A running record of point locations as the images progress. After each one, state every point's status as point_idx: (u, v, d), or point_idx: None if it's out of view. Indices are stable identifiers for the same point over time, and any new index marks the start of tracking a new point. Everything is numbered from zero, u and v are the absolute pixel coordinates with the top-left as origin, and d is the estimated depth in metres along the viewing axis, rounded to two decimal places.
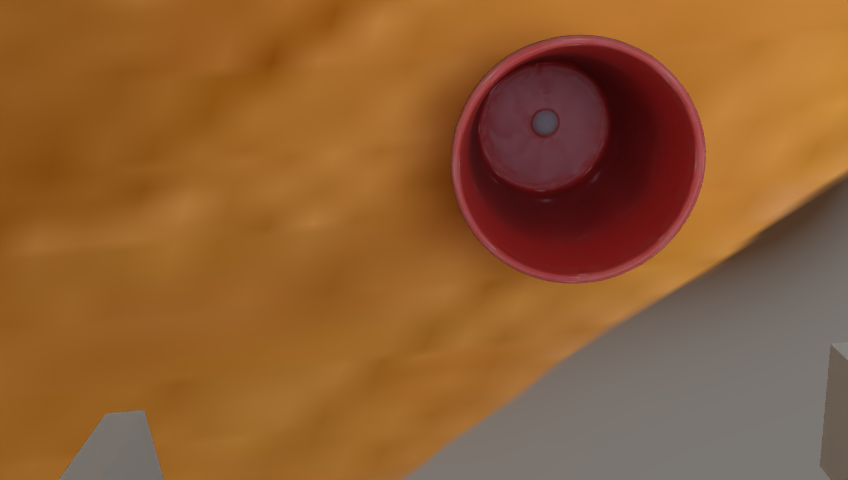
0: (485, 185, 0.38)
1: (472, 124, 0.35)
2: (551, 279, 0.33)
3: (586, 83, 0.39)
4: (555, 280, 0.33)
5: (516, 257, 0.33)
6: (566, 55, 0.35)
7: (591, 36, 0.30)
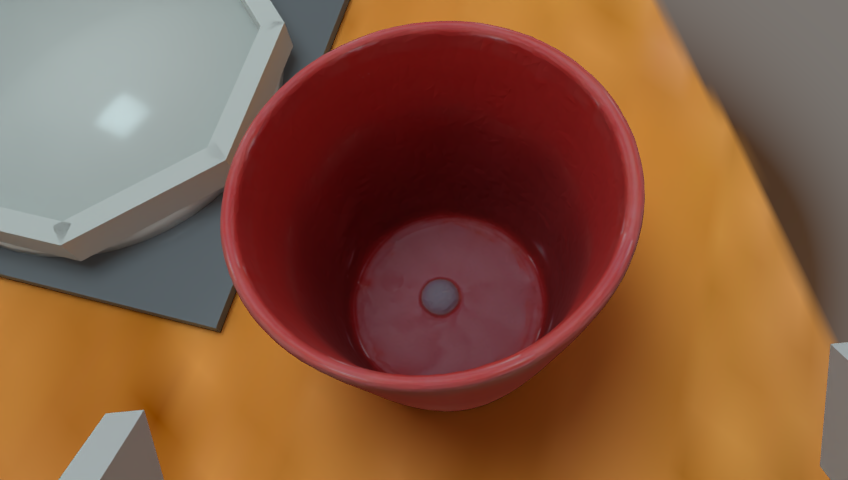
0: None
1: (344, 357, 0.21)
2: (613, 279, 0.18)
3: (411, 232, 0.28)
4: (617, 273, 0.18)
5: (553, 329, 0.18)
6: (331, 216, 0.25)
7: (253, 121, 0.20)
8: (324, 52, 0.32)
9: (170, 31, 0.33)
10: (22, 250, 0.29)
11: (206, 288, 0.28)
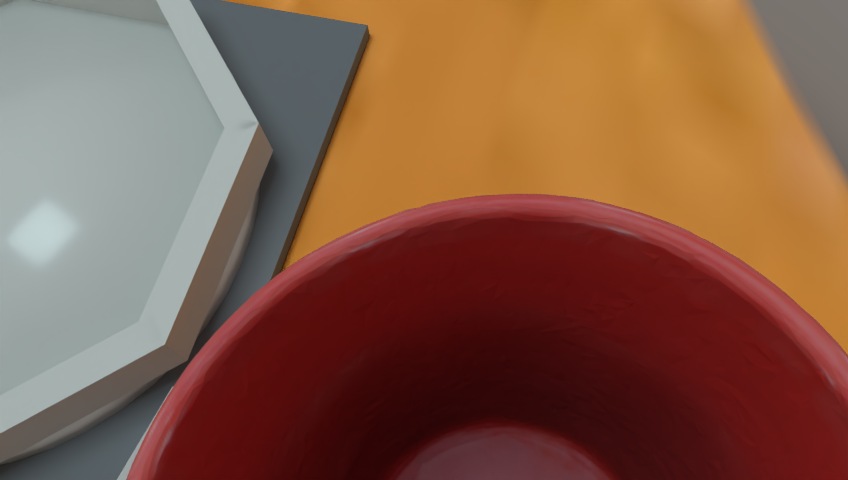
0: None
1: None
2: None
3: (445, 449, 0.19)
4: None
5: None
6: (321, 470, 0.15)
7: (170, 391, 0.11)
8: (318, 156, 0.23)
9: (101, 125, 0.23)
10: None
11: None
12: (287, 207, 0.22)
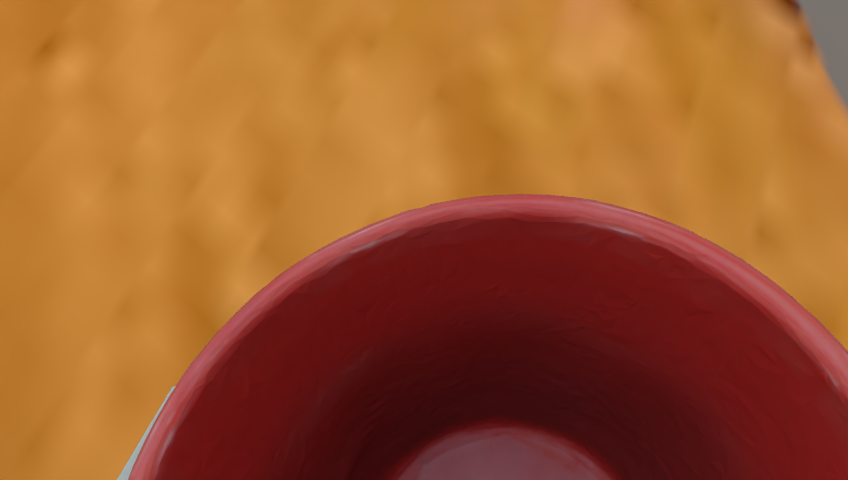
0: None
1: None
2: None
3: (446, 449, 0.19)
4: None
5: None
6: (322, 471, 0.15)
7: (172, 392, 0.11)
8: None
9: None
10: None
11: None
12: None
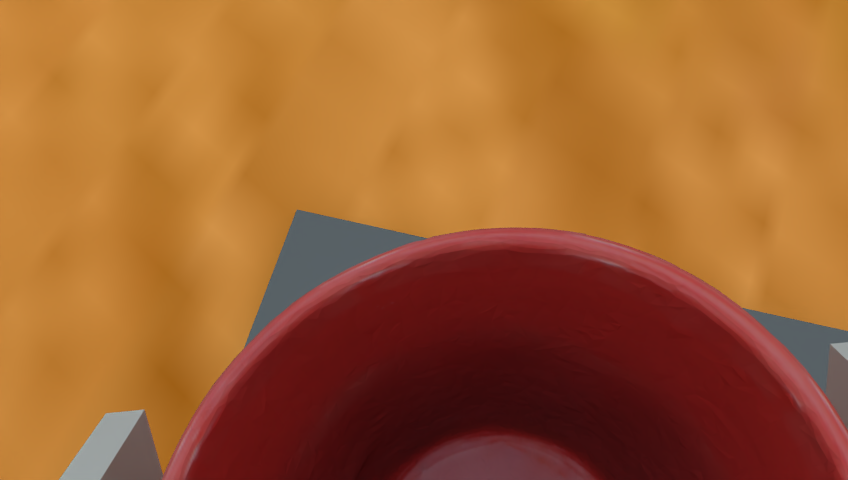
0: None
1: None
2: None
3: (445, 455, 0.20)
4: None
5: None
6: (329, 478, 0.16)
7: (196, 411, 0.12)
8: None
9: None
10: None
11: None
12: None
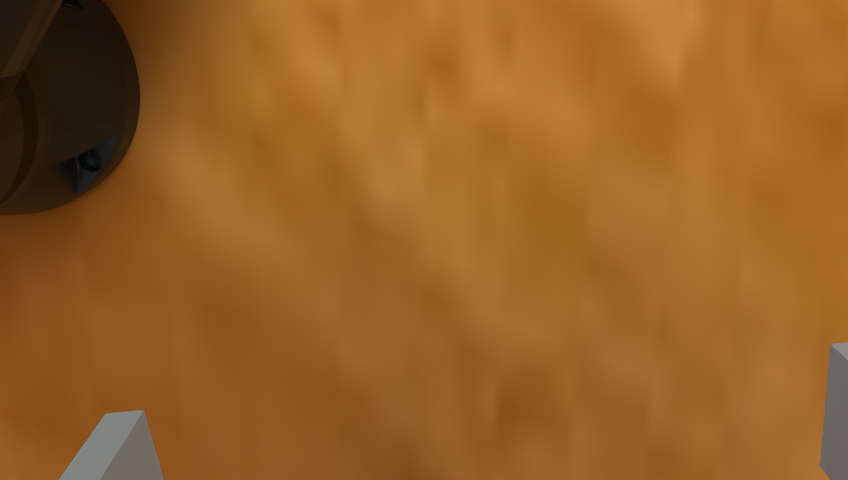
0: None
1: None
2: None
3: None
4: None
5: None
6: None
7: None
8: None
9: None
10: None
11: None
12: None
